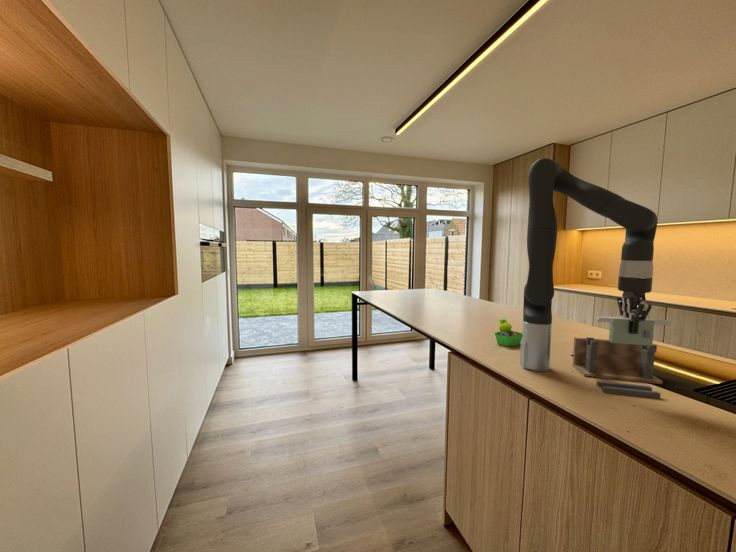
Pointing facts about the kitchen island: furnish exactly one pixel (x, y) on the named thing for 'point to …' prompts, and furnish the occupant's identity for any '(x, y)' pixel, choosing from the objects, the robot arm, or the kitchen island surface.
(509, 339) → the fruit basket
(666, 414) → the kitchen island surface
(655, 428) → the kitchen island surface
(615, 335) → the door
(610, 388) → the door rack
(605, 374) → the cabinet frame
